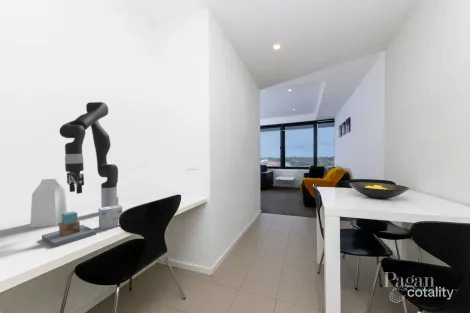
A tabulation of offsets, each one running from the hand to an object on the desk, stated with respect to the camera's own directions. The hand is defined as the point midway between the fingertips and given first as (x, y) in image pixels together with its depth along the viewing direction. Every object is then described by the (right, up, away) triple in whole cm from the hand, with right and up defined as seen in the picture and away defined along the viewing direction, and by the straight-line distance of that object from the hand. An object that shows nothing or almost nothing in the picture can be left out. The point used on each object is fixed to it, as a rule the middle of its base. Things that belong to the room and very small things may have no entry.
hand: (75, 192), depth 105 cm
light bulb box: (+16, -20, +5) cm, 26 cm away
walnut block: (+5, -18, -10) cm, 21 cm away
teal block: (+5, -13, -9) cm, 17 cm away
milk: (-24, -20, +11) cm, 33 cm away
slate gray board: (+5, -20, -9) cm, 23 cm away
